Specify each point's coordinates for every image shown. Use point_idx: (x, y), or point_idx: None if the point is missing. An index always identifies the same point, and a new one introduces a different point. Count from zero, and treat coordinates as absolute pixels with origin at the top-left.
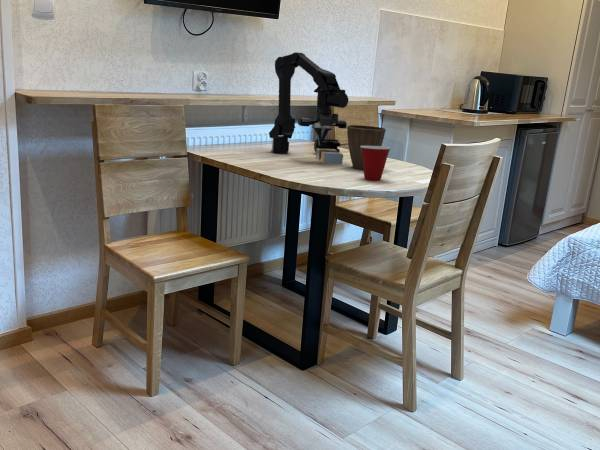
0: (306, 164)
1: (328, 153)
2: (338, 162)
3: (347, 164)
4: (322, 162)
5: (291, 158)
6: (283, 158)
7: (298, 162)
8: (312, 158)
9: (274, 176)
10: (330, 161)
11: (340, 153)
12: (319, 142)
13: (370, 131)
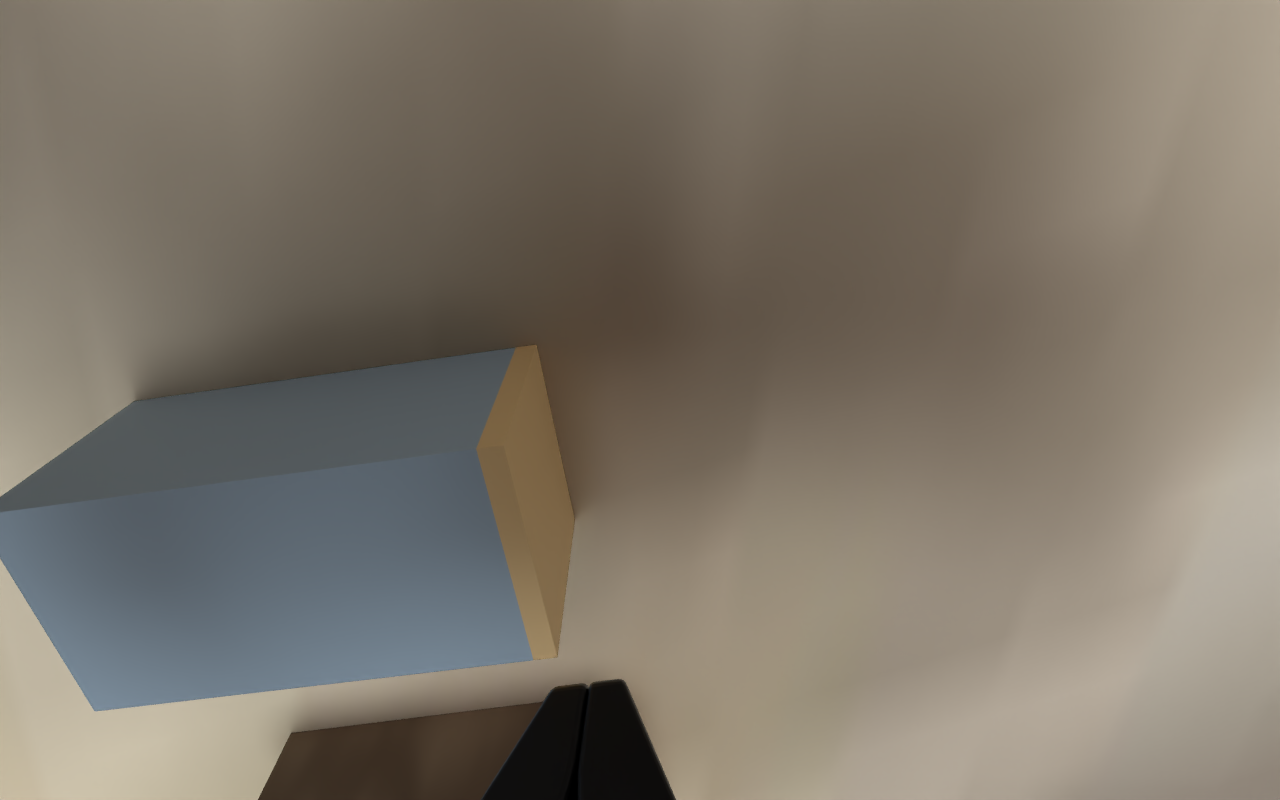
0: (954, 11)
1: (372, 478)
2: (198, 404)
3: (21, 392)
4: (544, 390)
5: (1098, 619)
6: (1264, 570)
7: (1086, 231)
8: (702, 738)
9: None
10: (366, 384)
11: (69, 603)
12: (647, 735)
13: None
